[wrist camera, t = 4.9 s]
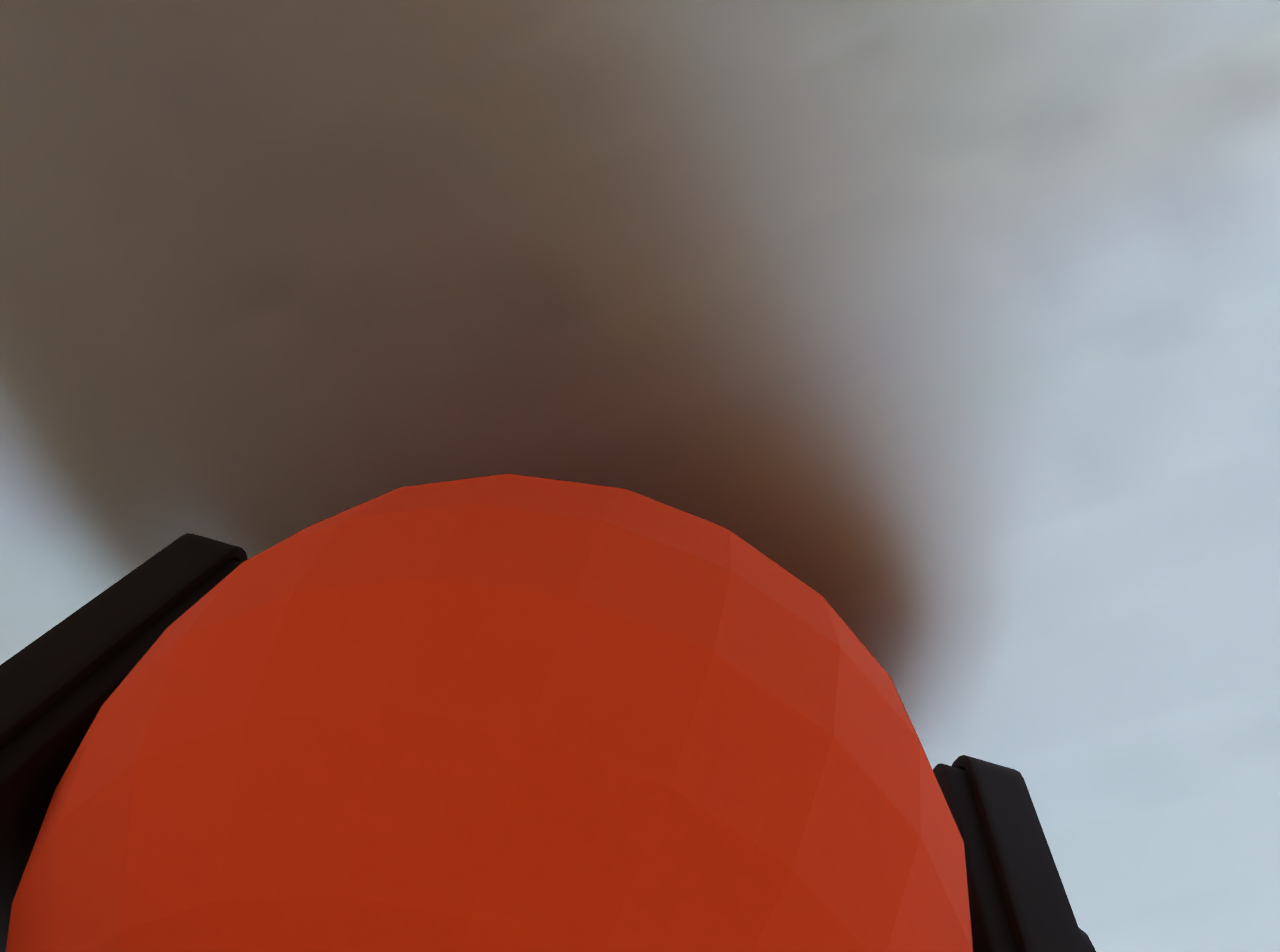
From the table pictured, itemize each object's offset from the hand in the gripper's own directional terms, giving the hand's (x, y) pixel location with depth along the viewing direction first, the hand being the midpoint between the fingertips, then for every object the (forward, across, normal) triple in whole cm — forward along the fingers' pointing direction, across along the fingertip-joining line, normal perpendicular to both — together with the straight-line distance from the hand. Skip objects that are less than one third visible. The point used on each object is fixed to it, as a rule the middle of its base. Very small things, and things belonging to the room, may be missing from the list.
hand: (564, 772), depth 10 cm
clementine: (+1, 0, 0) cm, 1 cm away
